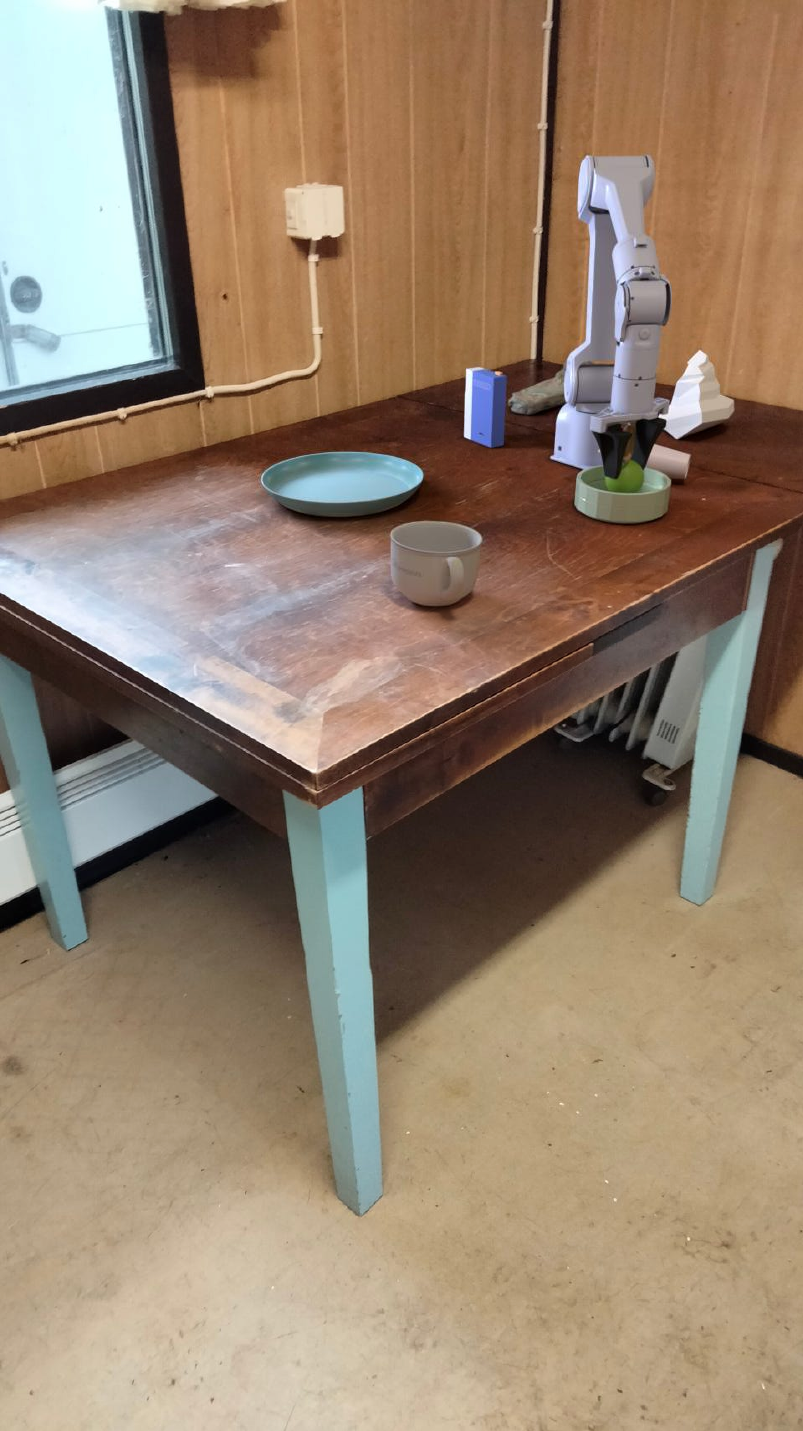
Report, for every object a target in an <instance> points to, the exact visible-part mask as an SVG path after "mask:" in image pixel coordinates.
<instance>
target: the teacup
mask: <svg viewBox="0 0 803 1431" xmlns="http://www.w3.org/2000/svg"><path fill="white" fill-rule="evenodd" d="M389 539H390V577H391V580H392V583H393V585H394V587H395V588H396V589H397V590H398V591H399V592H400V593H401V594H403V596H404V597H405V598H406V599H408V600H409V601H410V602H412V603H415V604H418V605H422V606H427V607H444V606H451V605H453V604H456V603H457V602H459V601H460V600H461V599H462V598H464V597H466V596H467V595H469V594H470V593H471V592H472V591H473V589H474V588H475V586H476V583H477V580H478V576H479V569H480V560H481V551H482V550H481V549H482V545H483V536H482V535H481V533H480V532H479V531H478V530H475V529H474V528H471V527H469V526H467V525H463V524H460V523H455V522H449V521H438V520H437V521H436V520H423V521H422V520H421V521H412V522H407V523H403V524H400V525H398V526H396V527H395V528H393V529H392V530H391V532H390V534H389Z"/></svg>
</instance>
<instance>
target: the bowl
mask: <svg viewBox="0 0 803 1431" xmlns="http://www.w3.org/2000/svg"><path fill="white" fill-rule="evenodd" d="M643 473H644V482H643V485H642V487H641V489H640V490H639V491H638V492H637V493H615V492H610V491H609V490H608V488H607V486H606V483H605V475H604V468H603V465H600V466H594V467H590V468H587V469H581V471H580V472H578V473H577V475H576V481H575V491H574V492H575V493H574V502H573V504H574V506H575V507H576V509H577V511H579V512H580V513H582V514H584V515H585V516H587V517H589V518H592V519H594V520H597V521H602V522H605V523H611V524H642V523H646V522H647V523H648V522H650V521H651V522H652V521H654V520H655V519H659V518H661V517H662V516H664V515H665V514H666V513H668V509H669V508H668V507H669V501H670V494H671V486H672V479H671V478H669V477H668V476H667V475H665V474H663V473H662V472H660V471H657V470H654V469H650V468H647V467H645V469H644V470H643Z"/></svg>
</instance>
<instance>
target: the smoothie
mask: <svg viewBox="0 0 803 1431" xmlns="http://www.w3.org/2000/svg"><path fill="white" fill-rule="evenodd" d="M598 453H599V454H601V452H600V450H598ZM691 458H692V455H691V454H690V453H686V452H682V451H679V450H677V449H672V448H669V447H666V446H662V445H659V444H656V443H655V444H654V446H653V448H652V451H651V453H650V456H649V459H648V461H647V464H646V467H647V468H650V469H654V470H657V471H660V472H662V473H663V474H665V475H667V476H668V477H669V478H670V479H671V480H672V479H673V480H674V479H675V480H686V478H687V475H688V471H689V468H690V464H691Z"/></svg>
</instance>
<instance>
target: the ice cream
mask: <svg viewBox="0 0 803 1431" xmlns="http://www.w3.org/2000/svg"><path fill="white" fill-rule="evenodd" d="M686 363H687V366H686V368H685V371H684V372H683V374H682V375H681V377H680V378H679V379H678V380H677V381H676V383H675V387H674V391H673V396H672V398H671V402H670V403H669V410H668V414H665V415H662V414H659V416H658V418H662V419H665V420H667V421H666V427H665V428H664V430H663V431H666V432H667V433H668V434H669V435H670V436H672V437H673V438H674V439H676V440H679V439H681V438H684V437H687V436H690V435H693V434H696V433H699V432H701V431H704V430H706V429H709V428H712V427H715V426H717V425H720V424H722V423H723V422H725V421H726V420H728V419H729V418H731V416H732V414H733V413H734V412H735V400H734V399H732V398H731V397H728V396H726V395H723V394H721V385H720V383H719V381H718V379H717V377H716V372H715V371H716V370H715V367H714V366H715V365H714V364H713V363H712V362H711V361H710V358H709V355H708V354H707V353H705V352H704V351H702V350H701V349H699V350H698V351H697V352H696V353H695V354H693V356H692V357H691V358H690V359H689V360H688V361H687V362H686Z"/></svg>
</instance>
